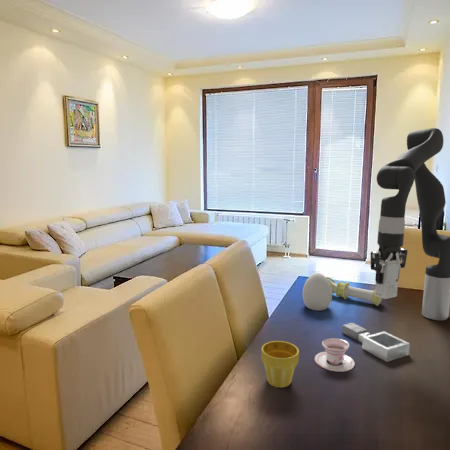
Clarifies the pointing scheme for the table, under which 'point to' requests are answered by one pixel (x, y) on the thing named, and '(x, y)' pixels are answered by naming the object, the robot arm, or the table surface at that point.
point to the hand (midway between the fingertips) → (386, 281)
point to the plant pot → (279, 362)
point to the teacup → (335, 355)
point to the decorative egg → (317, 292)
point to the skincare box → (388, 281)
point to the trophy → (353, 292)
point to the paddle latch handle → (378, 342)
